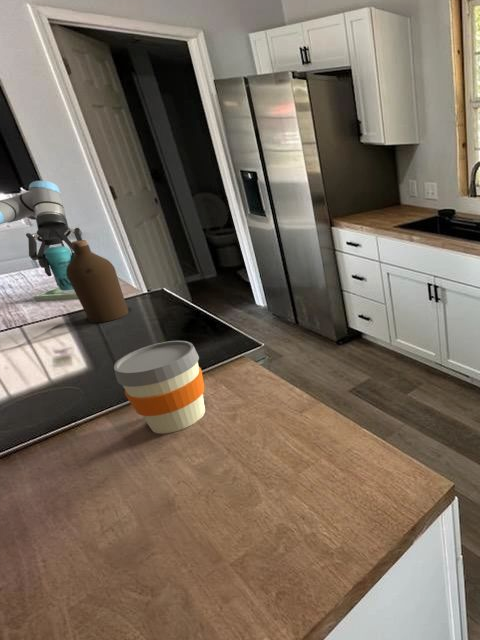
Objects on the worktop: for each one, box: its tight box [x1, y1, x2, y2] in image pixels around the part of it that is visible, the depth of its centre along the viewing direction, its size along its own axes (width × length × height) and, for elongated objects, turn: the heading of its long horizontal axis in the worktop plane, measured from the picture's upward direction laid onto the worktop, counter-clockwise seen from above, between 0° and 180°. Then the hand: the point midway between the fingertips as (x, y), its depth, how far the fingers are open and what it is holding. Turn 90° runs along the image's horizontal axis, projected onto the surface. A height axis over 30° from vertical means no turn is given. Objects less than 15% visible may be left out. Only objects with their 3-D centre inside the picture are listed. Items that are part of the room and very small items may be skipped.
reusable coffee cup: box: [113, 340, 206, 435], centre depth 82 cm, size 13×13×15 cm
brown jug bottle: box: [66, 239, 129, 324], centre depth 127 cm, size 11×11×25 cm
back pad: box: [33, 286, 79, 302], centre depth 150 cm, size 14×14×2 cm
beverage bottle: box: [44, 237, 74, 292], centre depth 146 cm, size 6×7×20 cm
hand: (63, 271), depth 144 cm, fingers closed on beverage bottle, 6 cm apart
